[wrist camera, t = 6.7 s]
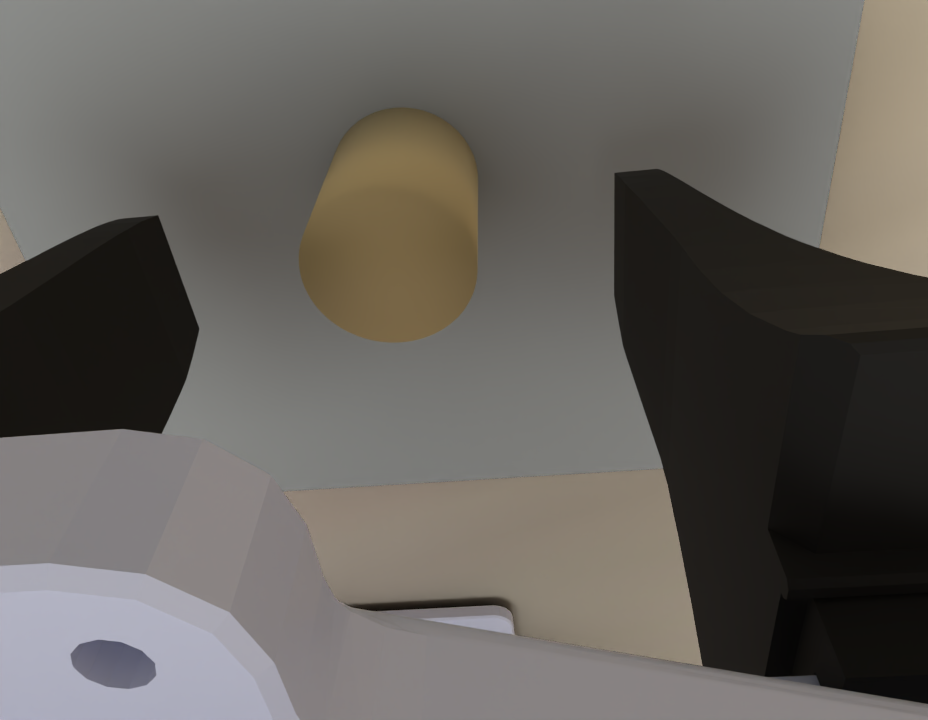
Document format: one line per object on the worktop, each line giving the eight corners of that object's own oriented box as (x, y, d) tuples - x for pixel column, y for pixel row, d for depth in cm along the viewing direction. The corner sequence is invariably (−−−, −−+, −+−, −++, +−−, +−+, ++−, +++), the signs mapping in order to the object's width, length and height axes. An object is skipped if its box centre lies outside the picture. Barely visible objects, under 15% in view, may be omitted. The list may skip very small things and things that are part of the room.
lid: (770, 437, 19) (829, 575, 15) (151, 476, 20) (87, 612, 16) (921, -465, 10) (1137, -584, 7) (-207, -307, 11) (-497, -345, 8)
